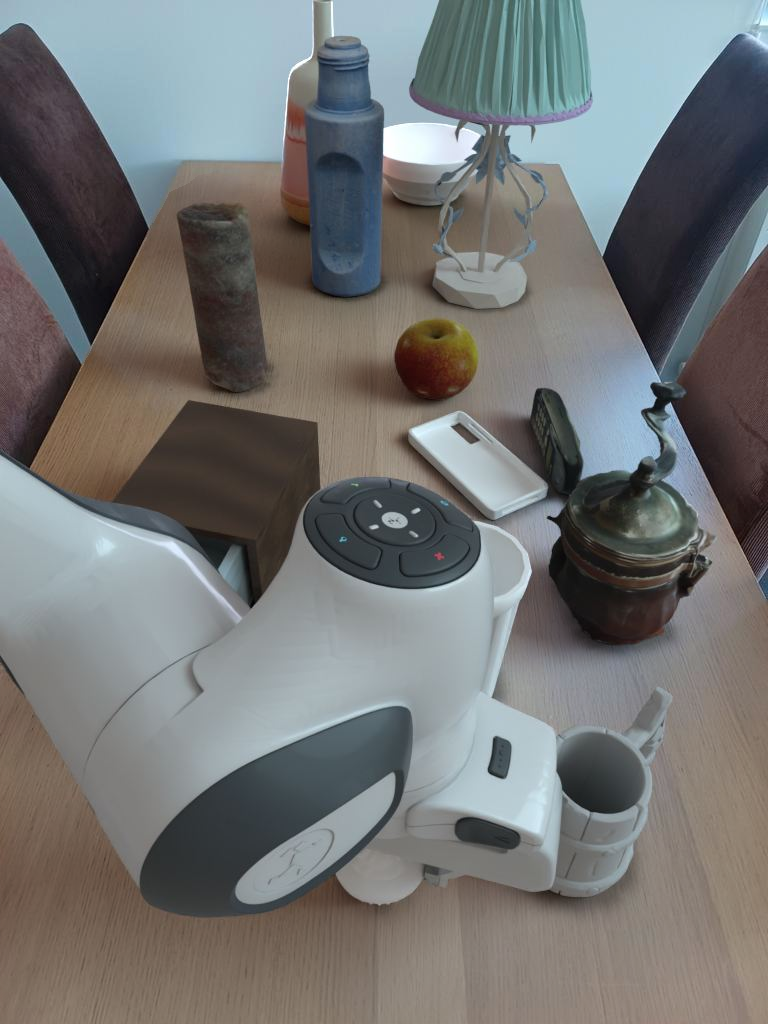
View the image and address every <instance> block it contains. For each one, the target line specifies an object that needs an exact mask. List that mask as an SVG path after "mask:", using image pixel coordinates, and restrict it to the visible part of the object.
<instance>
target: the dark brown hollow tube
mask: <svg viewBox="0 0 768 1024" xmlns="http://www.w3.org/2000/svg"><path fill="white" fill-rule="evenodd" d="M249 217H250V216H249V210H248V209H247V208H246V207H245V206H244V205H243V204H242V203H240V202H239V203H238V202H237V203H234V204H233V203H218V204H217V203H207V202H196V203H195V202H194V203H193V204H190V205H188V206H185V207H184V208H182V209H180V210H179V211H178V212H177V213H176V220H177V224H178V230H179V234H180V241H181V246H182V252H183V257H184V263H185V267H186V273H187V279H188V286H189V291H190V296H191V302H192V309H193V314H194V321H195V327H196V333H197V340H198V344H199V350H200V356H201V359H202V360H201V362H202V366H203V371H204V374H205V376H206V377H207V379H209V381H210V382H211V383H212V384H213V385H215V386H219V387H221V388H224V389H226V390H228V391H230V392H233V393H242V392H245V391H249V390H250V389H252V388H254V387H256V386H258V385H260V384H262V383H263V381H264V380H265V376H266V375H267V372H268V368H269V367H268V360H267V351H266V343H265V337H264V329H263V322H262V314H261V306H260V298H259V290H258V283H257V274H256V266H255V259H254V257H255V256H254V250H253V249H254V248H253V242H252V234H251V233H252V232H251V227H250V218H249Z"/></svg>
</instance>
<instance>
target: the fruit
mask: <svg viewBox="0 0 768 1024" xmlns="http://www.w3.org/2000/svg"><path fill="white" fill-rule="evenodd" d="M393 362H394V367H395V371H396V374H397V376H398V378H399V380H400V381H401V383H402V384H403V385H404V387H405V388H406V389H407V390H408V391H409V392H410V393H412V394H413V395H416V396H418V397H420V398H423V399H428V400H437V401H439V400H445V399H449V398H451V397H454V396H456V395H459V394H461V393H462V392H463V391H464V390H465V389H466V388H468V387H469V385H470V383H471V382H472V381H473V380H474V378H475V376H476V372H477V370H478V367H479V366H478V365H479V351H478V347H477V344H476V342H475V339H474V337H473V335H472V334H471V333H470V332H469V331H468V329H467V328H465V326H463V325H462V324H460V323H458V322H457V321H454V320H451V319H446V318H428V319H424V320H423V319H422V320H420V321H417V322H415V323H413V324H411V325H409V327H408V328H406V329H405V330H404V331H403V332H402V333H401V335H400V337H399V338H398V340H397V343H396V345H395V349H394V361H393Z"/></svg>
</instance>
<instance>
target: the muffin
mask: <svg viewBox="0 0 768 1024" xmlns="http://www.w3.org/2000/svg"><path fill="white" fill-rule="evenodd" d="M426 865H427V864H423V863H420V862H416V861H412V860H408V859H404V858H401V857H397V856H393V855H389V854H386V853H382V852H378V851H374V850H370V849H367V848H364V849H363V850H362V851H361V852H360V853H358V854H357V855H356V856H355V857H354V858H353V859H352V860H351V861H350V862H349V863H347V864H346V865H345V866H344V867H343V868H342V869H340V870H339V871H338V872H337V873H335V874H334V875H335V876H336V878H337V880H338V882H339V883H340V885H341V886H342V887H343V889H344V890H345V891H346V892H347V893H348V894H349V895H351V897H353V898H354V899H356V900H358V901H361V903H364V902H365V903H368V904H369V905H371V906H372V905H373V904H375V905H377V906H382V905H388V906H389V905H390V904H392V903H398V902H399V901H401V900H403V899H405V898H407V897H408V896H410V895H411V894H412V893H414V891H415V890H416V889H417V888H418V887H419V886H420V884H421V882H422V881H423V880H424V875H425V870H426Z"/></svg>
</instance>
